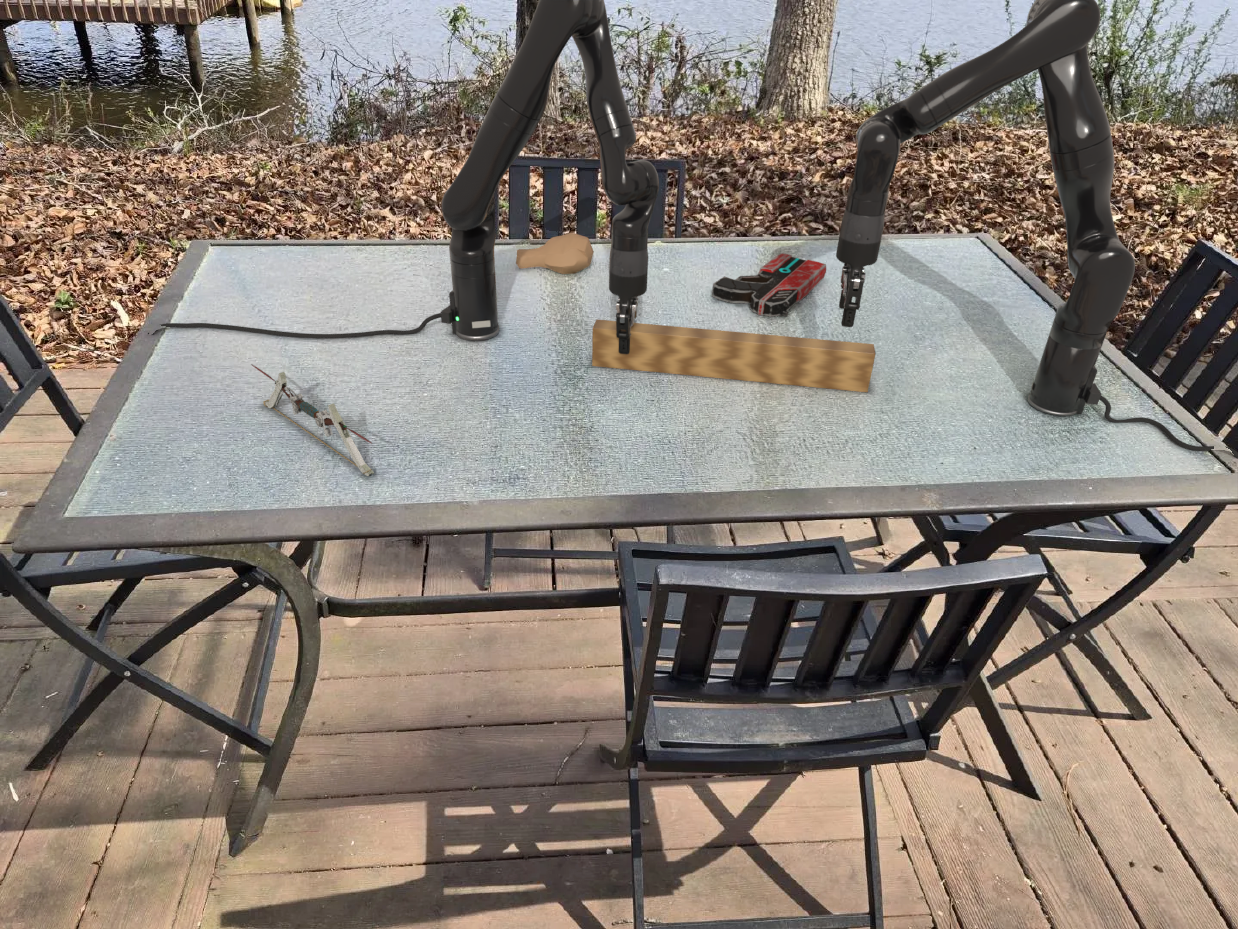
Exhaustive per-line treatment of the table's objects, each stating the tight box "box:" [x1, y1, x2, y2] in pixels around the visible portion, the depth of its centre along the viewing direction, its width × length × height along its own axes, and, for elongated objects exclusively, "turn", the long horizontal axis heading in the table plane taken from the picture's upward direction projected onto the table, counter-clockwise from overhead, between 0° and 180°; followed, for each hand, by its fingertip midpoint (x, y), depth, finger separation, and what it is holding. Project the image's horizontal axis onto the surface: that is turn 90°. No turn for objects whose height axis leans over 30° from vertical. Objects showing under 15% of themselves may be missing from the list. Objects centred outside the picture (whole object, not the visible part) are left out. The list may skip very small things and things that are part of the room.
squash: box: [515, 232, 595, 275], centre depth 223 cm, size 11×20×9 cm, turn 90°
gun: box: [711, 252, 827, 318], centre depth 215 cm, size 4×31×19 cm
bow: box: [250, 363, 375, 477], centre depth 152 cm, size 39×2×10 cm, turn 47°
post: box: [591, 318, 877, 393], centre depth 177 cm, size 56×4×9 cm, turn 81°
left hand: (626, 347), depth 180 cm, fingers closed on post, 4 cm apart
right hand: (845, 316), depth 169 cm, fingers open, 8 cm apart
